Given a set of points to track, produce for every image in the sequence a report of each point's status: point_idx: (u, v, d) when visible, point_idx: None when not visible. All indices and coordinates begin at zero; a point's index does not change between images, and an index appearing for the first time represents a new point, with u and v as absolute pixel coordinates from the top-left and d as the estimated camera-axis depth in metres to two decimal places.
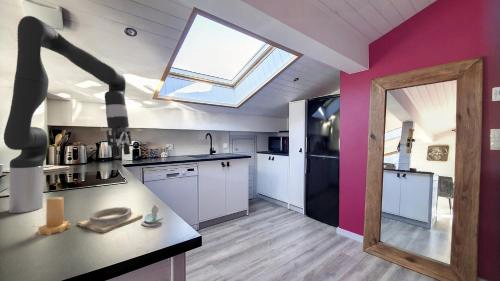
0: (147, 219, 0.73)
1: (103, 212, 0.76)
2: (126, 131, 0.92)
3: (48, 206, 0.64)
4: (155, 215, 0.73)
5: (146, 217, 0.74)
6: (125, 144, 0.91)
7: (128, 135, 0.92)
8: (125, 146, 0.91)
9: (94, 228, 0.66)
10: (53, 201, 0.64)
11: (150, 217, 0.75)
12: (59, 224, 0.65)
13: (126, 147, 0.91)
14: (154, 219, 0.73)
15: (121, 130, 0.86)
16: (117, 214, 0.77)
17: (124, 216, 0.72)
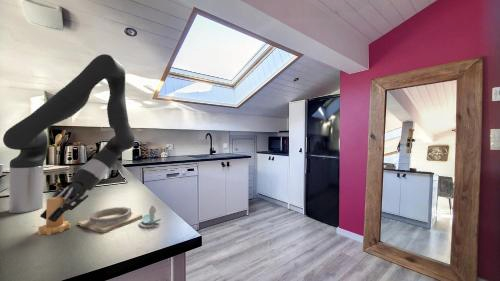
0: (144, 220, 0.72)
1: (103, 212, 0.76)
2: None
3: (48, 206, 0.64)
4: (152, 216, 0.72)
5: (143, 218, 0.73)
6: None
7: None
8: None
9: (94, 228, 0.66)
10: (53, 201, 0.64)
11: (147, 218, 0.74)
12: (59, 224, 0.65)
13: None
14: (151, 220, 0.72)
15: None
16: (117, 214, 0.77)
17: (124, 216, 0.72)
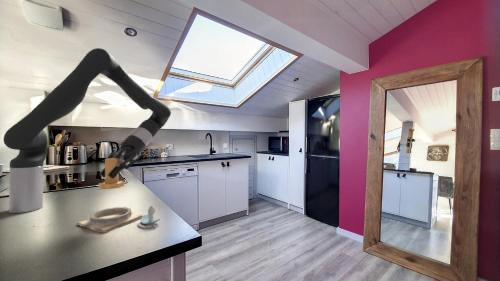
0: (143, 220, 0.72)
1: (103, 212, 0.76)
2: None
3: (107, 164, 0.71)
4: (151, 216, 0.72)
5: (142, 218, 0.73)
6: None
7: None
8: None
9: (94, 228, 0.66)
10: (111, 160, 0.72)
11: (146, 218, 0.74)
12: (116, 181, 0.73)
13: None
14: (150, 220, 0.72)
15: None
16: (117, 214, 0.77)
17: (124, 216, 0.72)
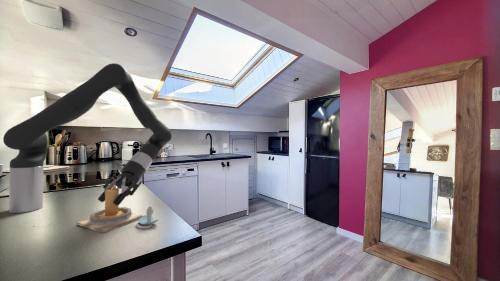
0: (142, 221, 0.71)
1: (103, 212, 0.76)
2: None
3: (107, 197, 0.72)
4: (150, 217, 0.71)
5: (141, 219, 0.72)
6: None
7: None
8: None
9: (94, 228, 0.66)
10: (111, 192, 0.72)
11: (145, 219, 0.73)
12: (116, 213, 0.73)
13: None
14: (149, 221, 0.71)
15: None
16: None
17: (124, 216, 0.72)
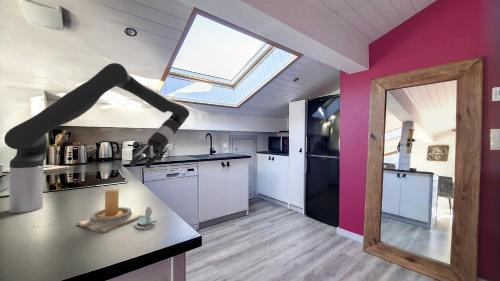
0: (140, 221, 0.71)
1: (103, 212, 0.76)
2: None
3: (107, 197, 0.72)
4: (148, 217, 0.71)
5: (139, 219, 0.72)
6: (138, 156, 0.87)
7: (142, 151, 0.91)
8: (137, 158, 0.87)
9: (94, 228, 0.66)
10: (111, 192, 0.72)
11: (144, 219, 0.73)
12: (116, 213, 0.73)
13: (136, 159, 0.87)
14: (147, 221, 0.71)
15: None
16: None
17: (124, 216, 0.72)
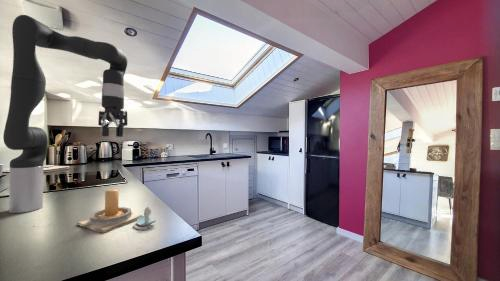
0: (139, 222, 0.71)
1: (103, 212, 0.76)
2: None
3: (107, 197, 0.72)
4: (147, 217, 0.70)
5: (138, 219, 0.71)
6: (105, 125, 0.86)
7: None
8: (105, 127, 0.85)
9: (94, 228, 0.66)
10: (111, 192, 0.72)
11: (142, 219, 0.72)
12: (116, 213, 0.73)
13: (106, 128, 0.86)
14: (146, 222, 0.70)
15: None
16: None
17: (124, 216, 0.72)
